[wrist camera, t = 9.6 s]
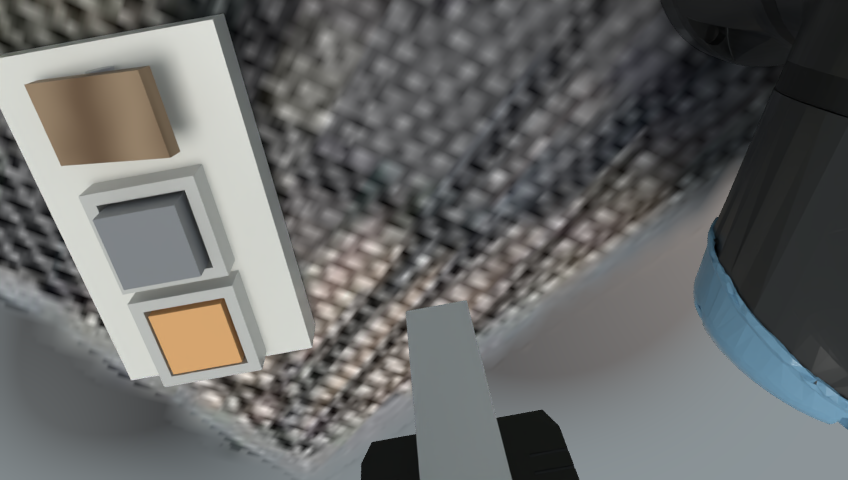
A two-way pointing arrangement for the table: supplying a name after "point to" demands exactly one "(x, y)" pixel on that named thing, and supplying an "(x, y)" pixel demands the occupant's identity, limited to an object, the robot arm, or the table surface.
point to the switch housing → (186, 171)
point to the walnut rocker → (104, 117)
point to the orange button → (197, 335)
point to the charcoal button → (152, 240)
